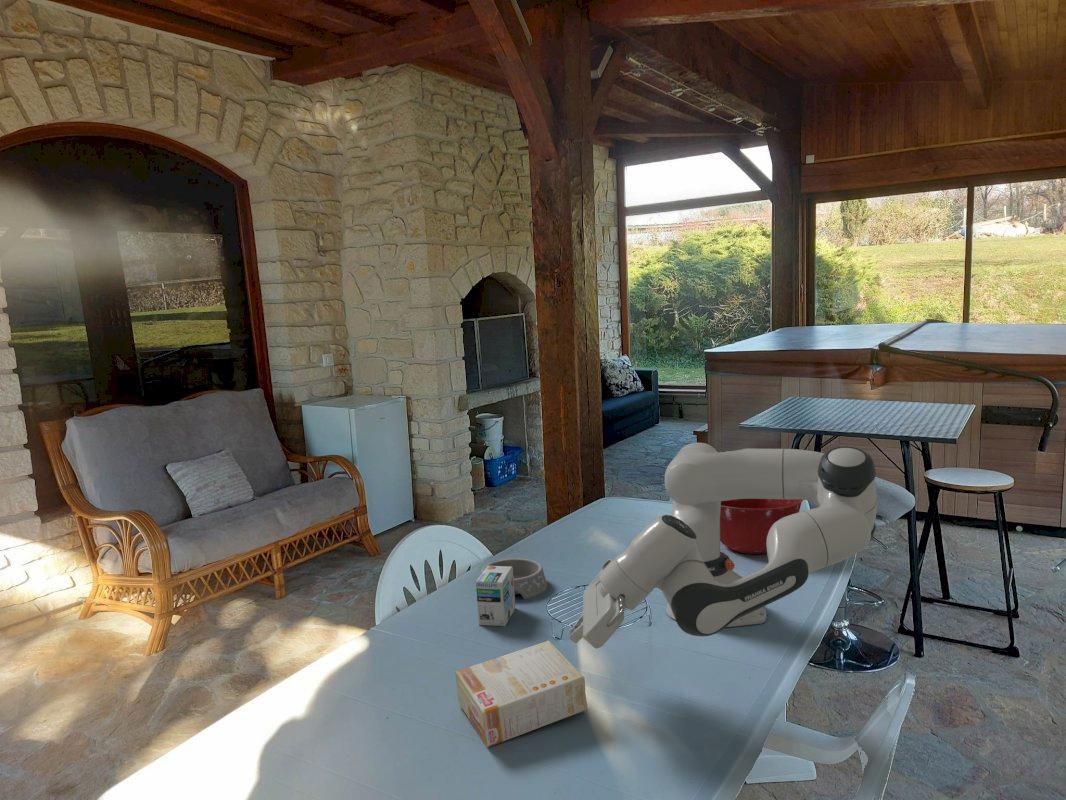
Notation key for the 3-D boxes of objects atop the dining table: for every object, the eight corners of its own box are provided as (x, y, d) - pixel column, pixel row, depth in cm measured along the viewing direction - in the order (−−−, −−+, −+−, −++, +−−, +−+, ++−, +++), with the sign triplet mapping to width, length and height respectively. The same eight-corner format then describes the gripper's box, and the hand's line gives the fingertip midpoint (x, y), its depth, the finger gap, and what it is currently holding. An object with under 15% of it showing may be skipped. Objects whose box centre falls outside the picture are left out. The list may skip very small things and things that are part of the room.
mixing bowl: (722, 525, 233) (721, 478, 231) (815, 539, 217) (815, 488, 214) (685, 553, 211) (683, 501, 209) (785, 570, 194) (785, 514, 192)
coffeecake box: (551, 671, 145) (458, 703, 137) (548, 638, 144) (453, 669, 136) (588, 712, 132) (486, 750, 124) (585, 676, 130) (481, 712, 123)
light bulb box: (505, 627, 170) (503, 582, 168) (477, 626, 171) (474, 581, 170) (516, 607, 180) (513, 565, 179) (489, 606, 181) (486, 564, 180)
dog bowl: (481, 576, 202) (479, 558, 201) (547, 574, 201) (546, 555, 201) (474, 602, 185) (473, 582, 184) (547, 599, 184) (546, 579, 184)
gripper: (639, 621, 126) (584, 676, 128) (631, 576, 146) (584, 624, 148) (611, 597, 125) (557, 653, 128) (607, 555, 146) (561, 604, 148)
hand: (572, 637), depth 138 cm, fingers closed
